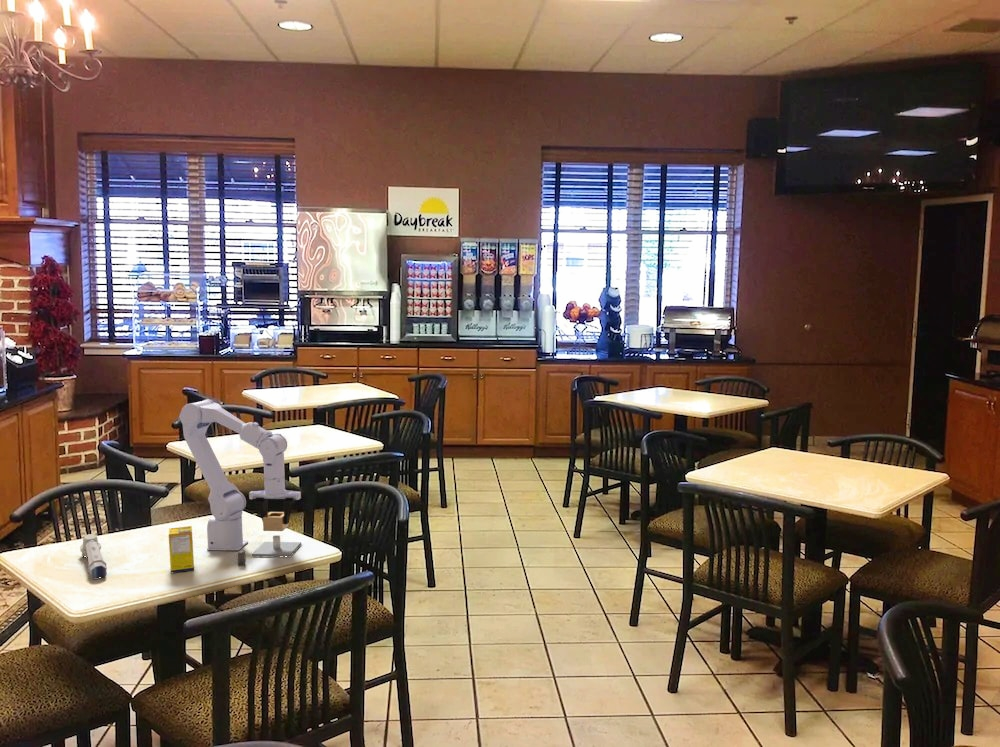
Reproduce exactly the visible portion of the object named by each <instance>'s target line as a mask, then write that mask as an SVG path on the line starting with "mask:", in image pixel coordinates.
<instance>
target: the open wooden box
mask: <svg viewBox="0 0 1000 747" xmlns="http://www.w3.org/2000/svg"><path fill="white" fill-rule="evenodd" d="M289 525H290V522H289V523H288V524H284V511H269V512H268V513H267V514H266V515H265V516H264V517H263V521H262V526H263V528H262V530H263V532H283V531H284V530H285V529H287V528H288V527H289Z"/></svg>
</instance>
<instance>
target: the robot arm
mask: <svg viewBox="0 0 1000 747" xmlns="http://www.w3.org/2000/svg"><path fill="white" fill-rule="evenodd" d="M178 418H179V420H180V422H181V424H182V431H183V437H184V440H185V442H186V444H187V446H188V449H189V450H190V452H191V454H192V456H193V458H194V460H195V461H196V462H195V463H196V464H197V466H198V468H199V470H200V473H202V476H203V478H204V480H205V482H206V484H207V486H208V488H209V491H210V492H209V495H208V498H207V500H208V502H209V505H210V508H209V509H210V513H211V515H212V517H210V518H209V519H208V522H207V526H206V533H207V535H206V536H207V548H206V551H241V549H242V548H243V547H244V546H246V544H248V543H249V541H248V540H244V538H243V537H244V535H243V511H244V509H245V508H246V505H247V500H246V497H245V495H244V494H243V493H242V492H240V490H239V489H238V487H237V485H235V484H233V483H231V482H230V481H229V479H228V478H227V476H226V474H225V471H224V470H223V468H222V466H221V464H220V462H219V460H218V457H217V456H216V454H215V452H214V450H213V448H212V446H211V444H210V442H209V440H208V439H207V436H206V433H207V430H208V429H209V426H210V425H211V424H212V423H217V424H219V425H221V426H223V427H225V428H227V429H229V430H232V431H234V432H236V433H237V434H239V438H240V440H241V441H244V442H245V443H247V444H249V445H250V446H252V447H254V448H256V449H257V450H258V451H259V454H260V455H261V457H262V461H263V480H264V481H263V483H264V484H263V485H264V488H263V490H251V491H250V492H249V493H248V497H249V500H255V501H254V505H255V507H256V509H257V510H258V512H259V515H260V517H261V520H262V522H263V517H264V516H265V515H266V514H267V513H269V512H268V505H269V500H283V501H281V503H282V508H283V512H284V524H288V523H289V524H290V516H291V512H292V509H293V506H294V505H295V502H296V501H298V500H300V499H302V492H301V491H297V490H287V489H286V478H285V477H286V476H285V475H286V474H285V453H284V452H286V450H287V447H288V441H287V438H285V436H283V435H282V434H280V433H274V434H273V432H272V431H271V430H267V429H265V428H263V427H261V426H260V425H259V423H258V422H256V421H254V422H252V421H250V422H247V423H246V422H245V421H243V420H241V419H240V418H238V417H237V416H235V415H233V414H232V413H231V412H230V411H227V410H226V409H224V408H223V407H222V405H220V403H217V402H214V401H213V400H212V399H208V398H207V399H206V398H205V399H203V400H202V401H201V400H200V401H197V402H191V403H186V404H185V405H184V406H182V408H181V410H180V413H179V416H178Z"/></svg>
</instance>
